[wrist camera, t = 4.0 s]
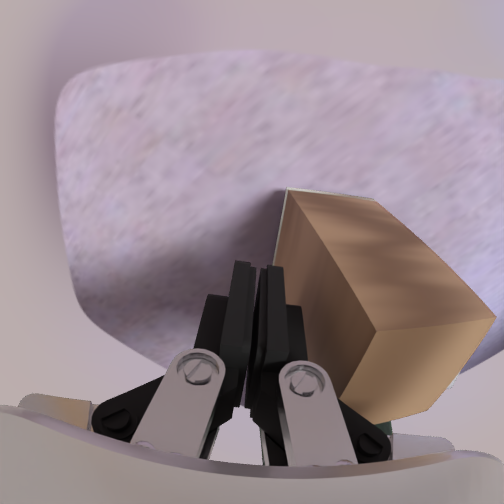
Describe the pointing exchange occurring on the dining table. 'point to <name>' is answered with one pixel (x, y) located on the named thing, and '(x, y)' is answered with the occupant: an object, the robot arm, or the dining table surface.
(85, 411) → the robot arm
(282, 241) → the tan block
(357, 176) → the dining table surface
